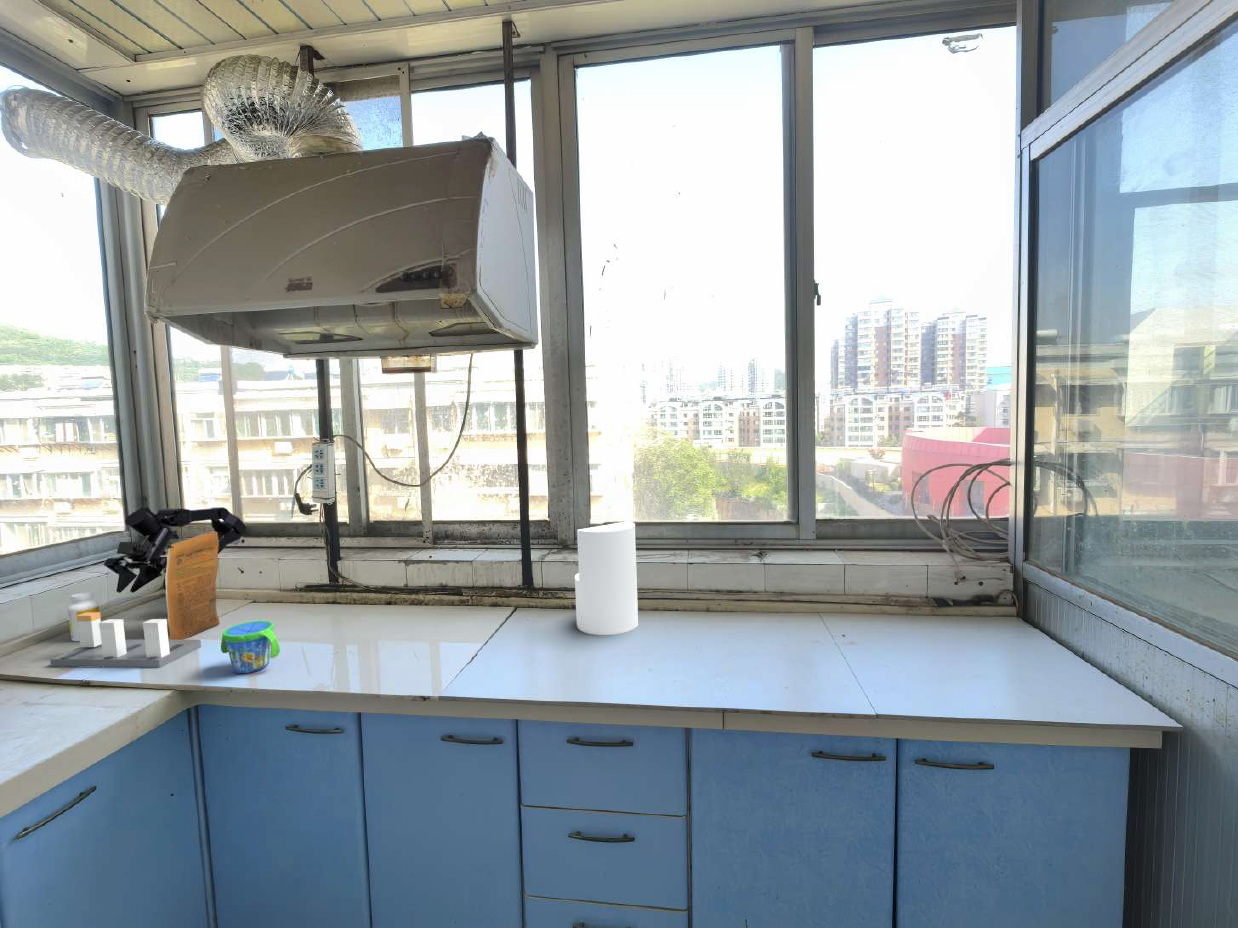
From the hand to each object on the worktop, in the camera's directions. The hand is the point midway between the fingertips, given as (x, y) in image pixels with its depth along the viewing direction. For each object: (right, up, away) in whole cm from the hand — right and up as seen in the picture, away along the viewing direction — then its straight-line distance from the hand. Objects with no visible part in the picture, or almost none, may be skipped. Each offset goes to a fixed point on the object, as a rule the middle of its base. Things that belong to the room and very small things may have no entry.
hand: (124, 592), depth 168 cm
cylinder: (+136, -9, 0) cm, 136 cm away
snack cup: (+49, -14, -22) cm, 56 cm away
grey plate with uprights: (+11, -14, -12) cm, 21 cm away
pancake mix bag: (+17, -13, +5) cm, 22 cm away
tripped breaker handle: (-1, -12, -10) cm, 16 cm away
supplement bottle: (-14, -14, +3) cm, 20 cm away
